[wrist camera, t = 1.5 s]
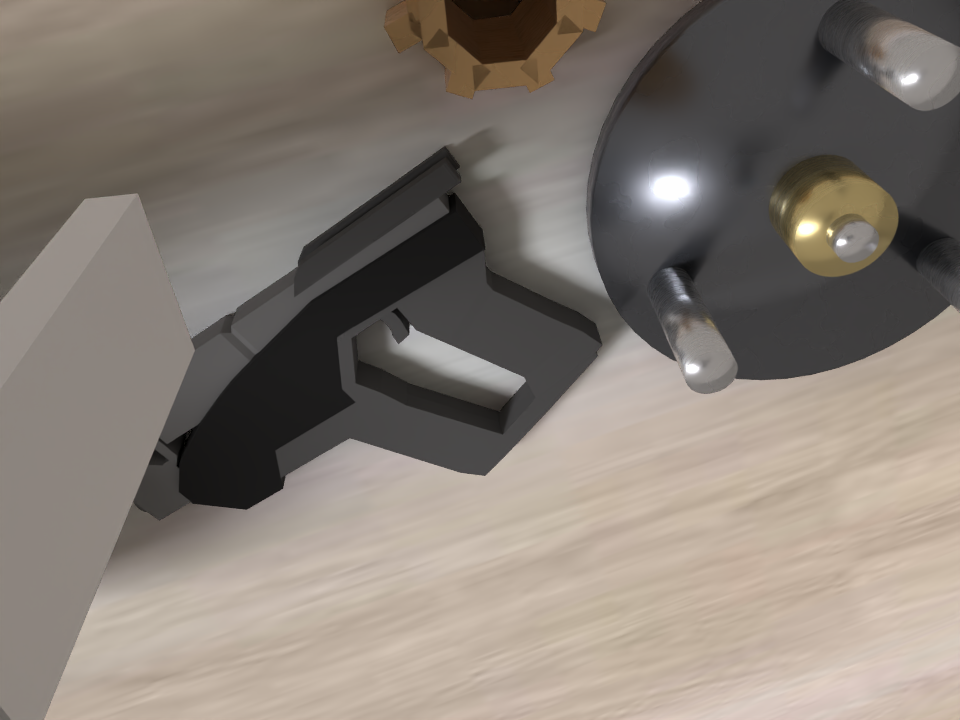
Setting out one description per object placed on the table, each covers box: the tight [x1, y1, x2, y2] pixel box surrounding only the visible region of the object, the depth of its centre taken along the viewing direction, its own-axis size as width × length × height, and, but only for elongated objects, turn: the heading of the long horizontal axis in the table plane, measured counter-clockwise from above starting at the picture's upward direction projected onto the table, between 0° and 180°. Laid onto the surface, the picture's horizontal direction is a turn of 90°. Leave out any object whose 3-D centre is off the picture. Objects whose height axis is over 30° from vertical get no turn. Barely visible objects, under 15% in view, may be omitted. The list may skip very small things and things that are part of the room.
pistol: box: [133, 146, 602, 521], centre depth 40 cm, size 2×26×15 cm
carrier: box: [586, 0, 960, 394], centre depth 32 cm, size 19×19×8 cm
